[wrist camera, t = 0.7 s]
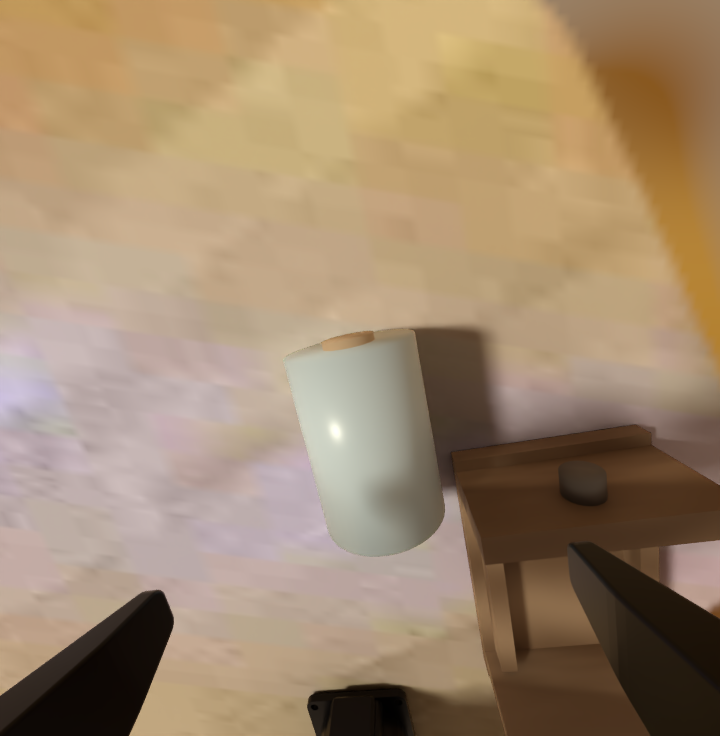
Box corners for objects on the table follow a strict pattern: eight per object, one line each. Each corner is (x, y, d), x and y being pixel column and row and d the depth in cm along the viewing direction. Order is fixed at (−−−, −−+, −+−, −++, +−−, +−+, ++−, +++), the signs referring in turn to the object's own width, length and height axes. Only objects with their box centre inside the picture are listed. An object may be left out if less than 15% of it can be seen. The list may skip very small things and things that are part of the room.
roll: (440, 477, 18) (453, 558, 13) (341, 487, 19) (314, 566, 14) (412, 317, 16) (414, 334, 11) (304, 338, 17) (257, 363, 12)
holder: (642, 651, 20) (738, 788, 14) (484, 662, 21) (519, 793, 15) (635, 416, 16) (755, 479, 11) (449, 445, 17) (477, 514, 12)
